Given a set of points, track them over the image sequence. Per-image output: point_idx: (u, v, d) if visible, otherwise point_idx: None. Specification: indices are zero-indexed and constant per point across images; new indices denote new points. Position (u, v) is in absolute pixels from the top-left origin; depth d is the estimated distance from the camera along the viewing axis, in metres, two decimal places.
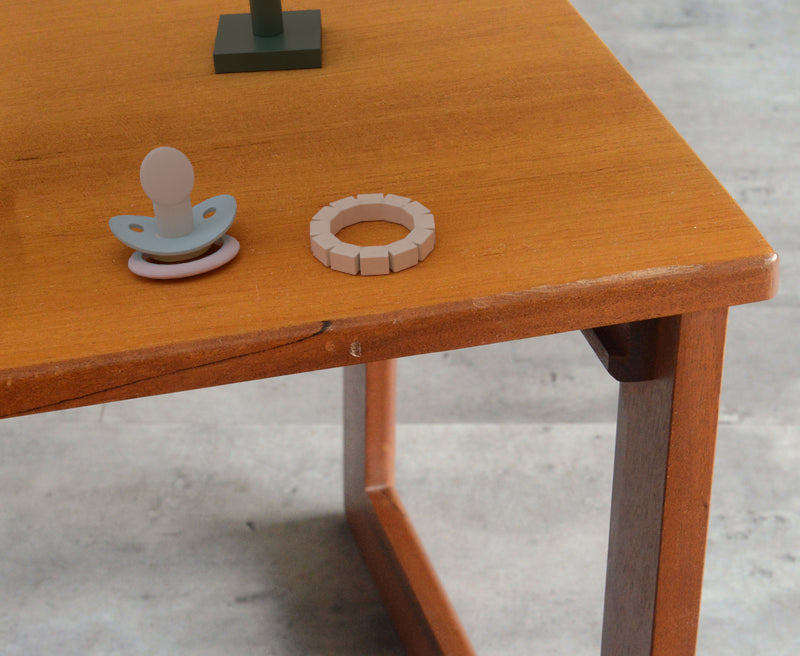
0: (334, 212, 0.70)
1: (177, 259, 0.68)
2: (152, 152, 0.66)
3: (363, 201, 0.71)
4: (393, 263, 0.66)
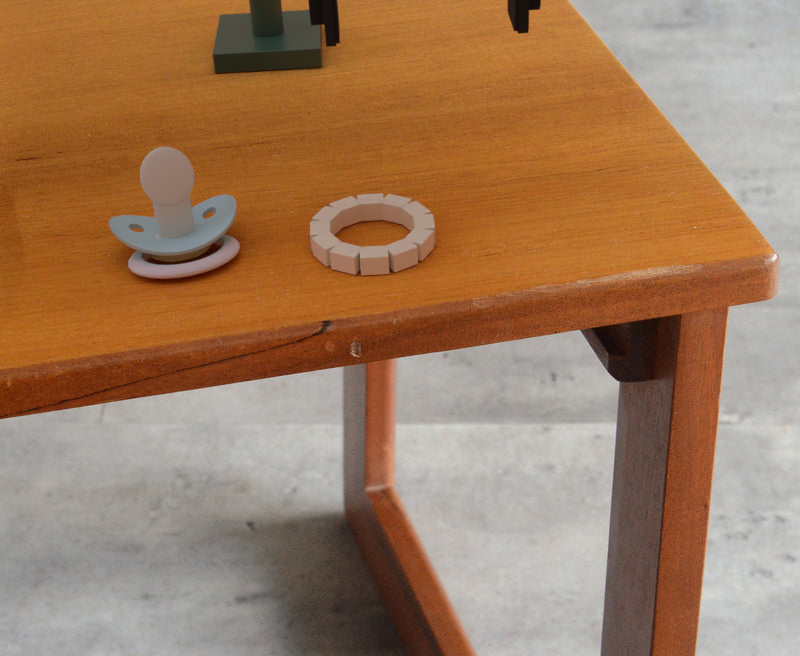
0: (334, 212, 0.70)
1: (177, 259, 0.68)
2: (152, 152, 0.66)
3: (363, 201, 0.71)
4: (393, 263, 0.66)
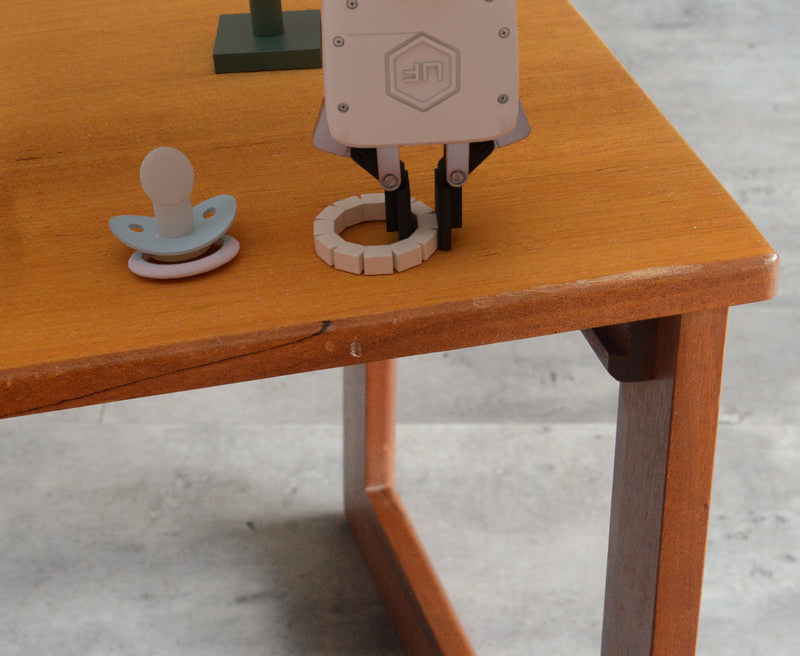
0: (338, 211, 0.70)
1: (177, 259, 0.68)
2: (152, 152, 0.66)
3: (367, 201, 0.71)
4: (397, 263, 0.66)
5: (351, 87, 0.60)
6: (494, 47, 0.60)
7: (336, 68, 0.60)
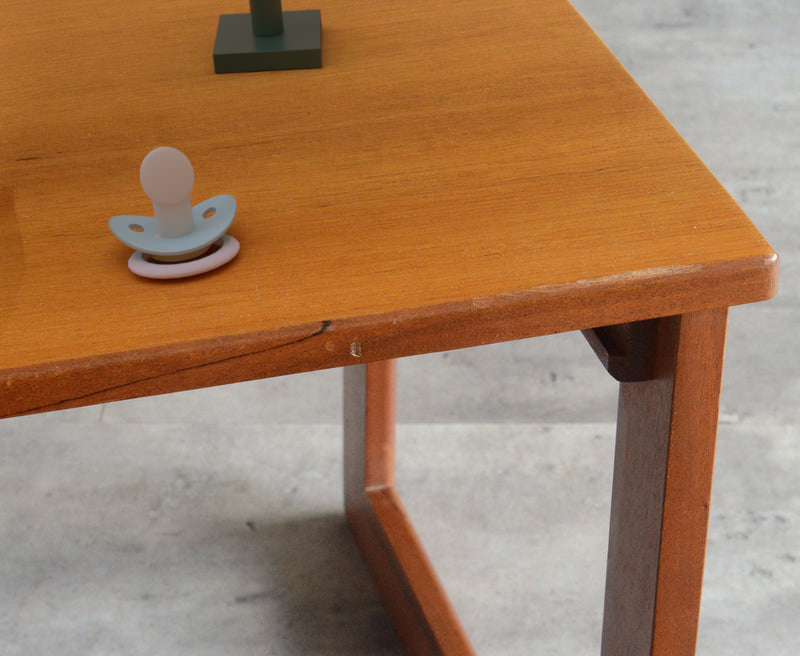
0: None
1: (177, 259, 0.68)
2: (152, 152, 0.66)
3: None
4: None
5: None
6: None
7: None
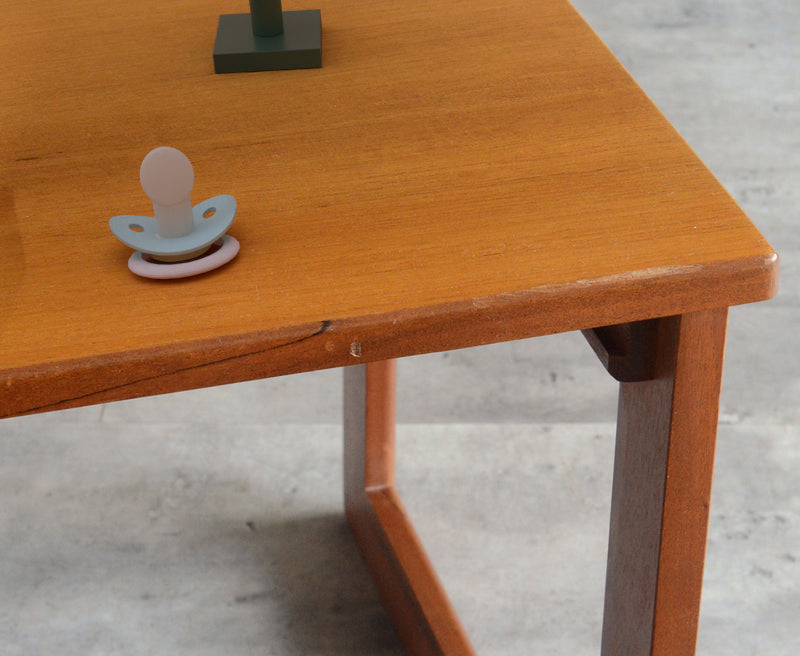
0: None
1: (177, 259, 0.68)
2: (152, 152, 0.66)
3: None
4: None
5: None
6: None
7: None
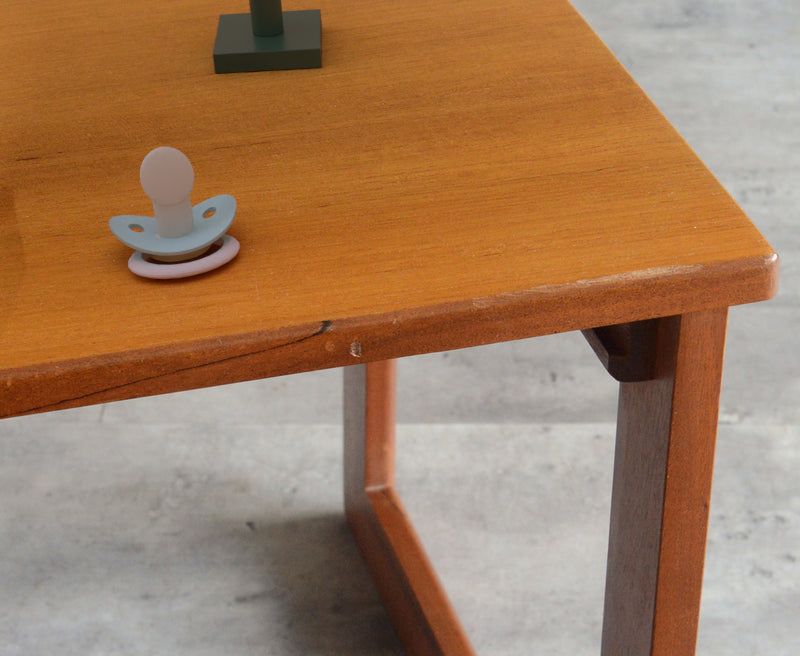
0: None
1: (177, 259, 0.68)
2: (152, 152, 0.66)
3: None
4: None
5: None
6: None
7: None
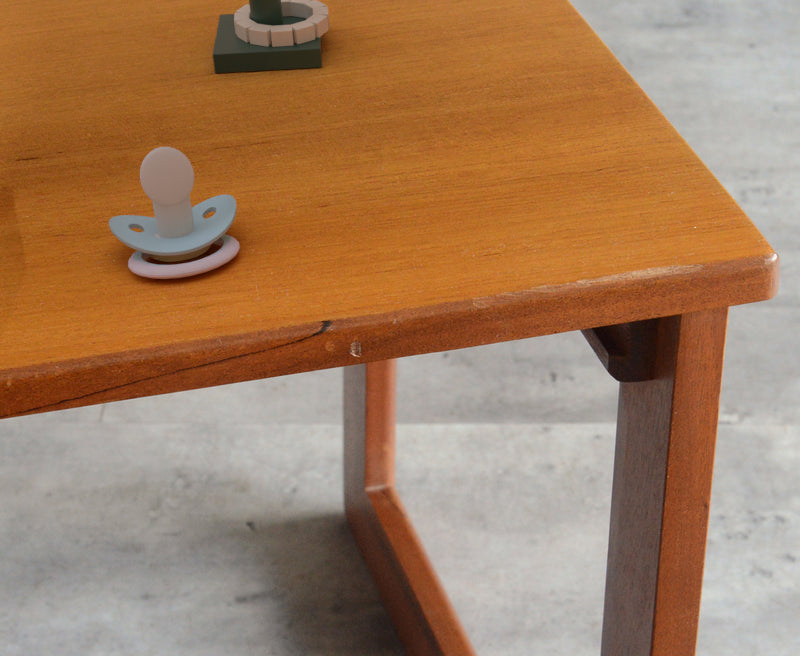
0: None
1: (177, 259, 0.68)
2: (152, 152, 0.66)
3: None
4: (296, 37, 0.89)
5: None
6: None
7: None
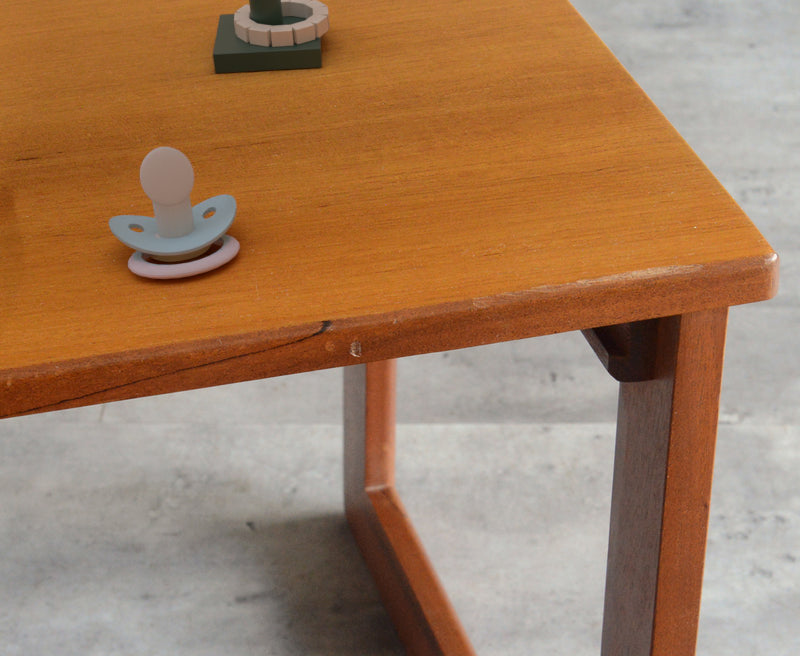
0: None
1: (177, 259, 0.68)
2: (152, 152, 0.66)
3: None
4: (296, 37, 0.89)
5: None
6: None
7: None
